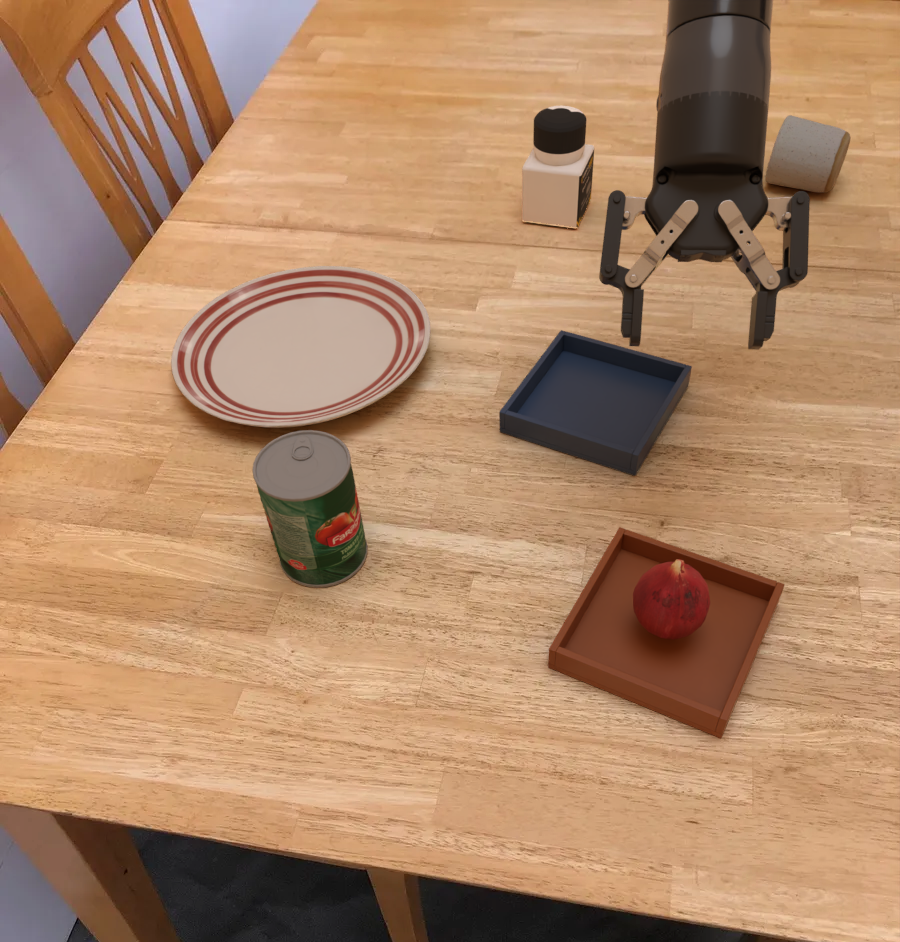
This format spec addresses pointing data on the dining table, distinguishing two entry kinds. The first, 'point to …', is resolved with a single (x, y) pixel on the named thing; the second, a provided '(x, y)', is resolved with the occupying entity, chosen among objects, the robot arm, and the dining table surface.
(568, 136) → the medicine bottle
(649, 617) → the onion
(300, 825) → the dining table surface
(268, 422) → the dinner plate
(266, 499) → the canned tomato
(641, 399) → the blue tray
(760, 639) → the copper tray
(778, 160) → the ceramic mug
